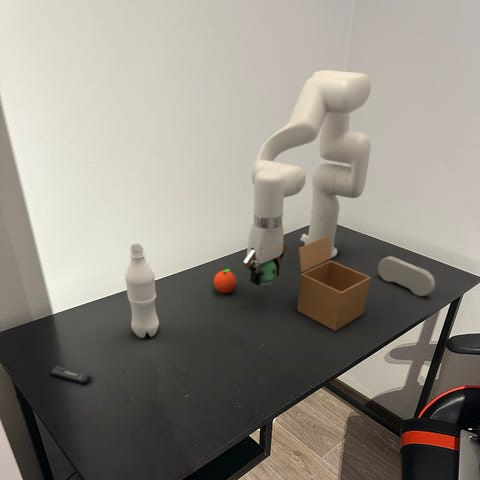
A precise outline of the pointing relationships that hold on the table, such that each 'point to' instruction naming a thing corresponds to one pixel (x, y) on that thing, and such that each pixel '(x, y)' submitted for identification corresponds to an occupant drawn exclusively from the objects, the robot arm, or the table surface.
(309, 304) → the carton
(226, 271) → the clementine
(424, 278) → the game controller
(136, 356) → the table surface
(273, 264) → the alien toy
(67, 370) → the usb stick
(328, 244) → the flap
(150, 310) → the water bottle
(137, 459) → the table surface
